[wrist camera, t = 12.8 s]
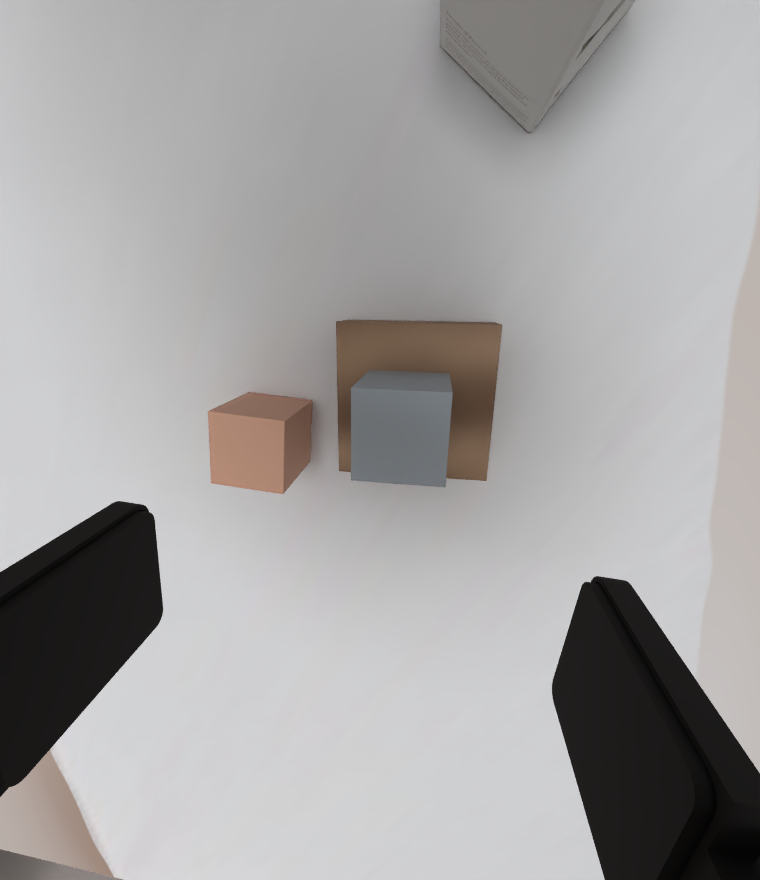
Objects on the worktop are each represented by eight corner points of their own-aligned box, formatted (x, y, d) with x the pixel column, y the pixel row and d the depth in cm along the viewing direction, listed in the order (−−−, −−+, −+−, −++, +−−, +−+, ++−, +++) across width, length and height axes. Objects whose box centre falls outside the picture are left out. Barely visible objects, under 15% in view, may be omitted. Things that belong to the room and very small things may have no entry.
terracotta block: (249, 392, 32) (208, 411, 26) (312, 399, 31) (284, 421, 26) (249, 452, 33) (211, 483, 28) (310, 461, 33) (283, 494, 27)
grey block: (369, 370, 26) (350, 387, 21) (449, 373, 26) (452, 392, 20) (368, 444, 28) (351, 480, 22) (443, 449, 27) (445, 487, 22)
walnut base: (349, 319, 29) (336, 321, 26) (493, 322, 28) (502, 324, 24) (350, 451, 32) (339, 471, 29) (480, 459, 31) (486, 480, 27)
